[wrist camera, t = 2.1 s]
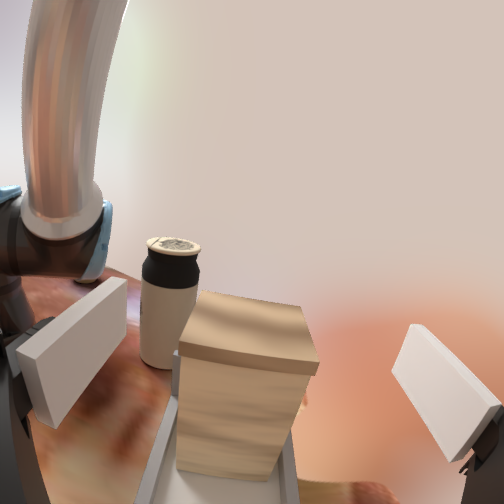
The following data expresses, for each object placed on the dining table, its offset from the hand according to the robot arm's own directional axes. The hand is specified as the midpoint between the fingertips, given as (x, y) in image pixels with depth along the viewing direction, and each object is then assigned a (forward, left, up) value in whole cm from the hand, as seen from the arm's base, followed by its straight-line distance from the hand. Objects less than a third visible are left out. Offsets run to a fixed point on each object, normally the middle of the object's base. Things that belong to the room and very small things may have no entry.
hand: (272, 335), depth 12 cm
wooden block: (-9, +3, -20) cm, 23 cm away
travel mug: (-29, -1, -22) cm, 36 cm away
